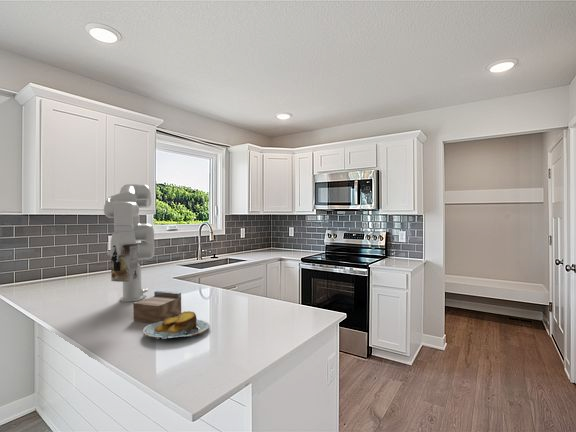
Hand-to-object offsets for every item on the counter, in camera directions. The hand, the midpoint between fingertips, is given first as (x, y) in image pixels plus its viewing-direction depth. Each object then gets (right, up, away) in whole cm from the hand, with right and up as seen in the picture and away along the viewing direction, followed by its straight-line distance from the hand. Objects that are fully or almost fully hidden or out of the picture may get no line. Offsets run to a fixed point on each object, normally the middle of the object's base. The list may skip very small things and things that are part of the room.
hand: (124, 268), depth 139 cm
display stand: (+13, -23, +6) cm, 27 cm away
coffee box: (0, -5, 0) cm, 5 cm away
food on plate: (+28, -24, -13) cm, 39 cm away
